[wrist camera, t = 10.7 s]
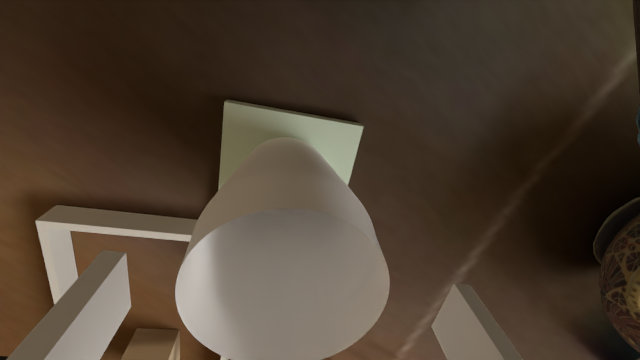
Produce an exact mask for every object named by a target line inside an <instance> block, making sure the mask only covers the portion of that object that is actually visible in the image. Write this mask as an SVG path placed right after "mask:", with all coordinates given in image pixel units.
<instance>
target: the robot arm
mask: <svg viewBox="0 0 640 360" xmlns="http://www.w3.org/2000/svg"><path fill="white" fill-rule="evenodd" d="M633 12H634V26H635V39H636V52H637V66H638V79H639V92H640V0H633ZM636 122H637V126H638V130H639V134H638V139H637V141H638V143H639V145H640V105H639V109H638V114H637V118H636ZM130 308H131V301H130V290H129V279H128V269H127V258H126V252H115V251H105V250H102V252H101V253H100V254H99V255H98V256H97V257H96V258H95V259H94V261H93V262H92V263H91V264H90V265H89V266H88V267H87V269H86V270H85V271H84V272H83V273H82V274H81V275H80V277H79V278H78V279H77V280H76V281H75V282H74V283H73V284H72V286H71V287H70V288H69V289H68V290H67V291H66V292H65V294H64V295H63V296H62V297H61V298H60V299H59V300H58V301H57V303H56V304H55V305H54V306H53V307H52V308H51V309H50V311H49V312H48V313H47V314H46V315H45V316H44V317H43V318H42V320H41V321H40V322H39V323H38V324H37V325H36V326H35V328H34V329H33V330H32V331H31V332H30V333H29V334H28V336H27V337H26V338H25V339H24V340H23V341H22V342H21V343H20V345H19V346H18V347H17V348H16V349H15V350H14V351H13V353H12V354H11V355H10V356H9V357H6V356H0V360H100V358H101V357H102V355H103V353H104V352H105V350H106V348H107V347H108V345H109V343H110V342H111V340H112V338H113V336H114V335H115V333H116V331H117V330H118V328H119V326H120V325H121V323H122V321H123V320H124V318H125V316H126V314H127V313H128V311H129V309H130ZM431 327H432V329H433V331H434V333H435V335H436V337H437V339H438V341H439V343H440V345H441V347H442V350H443V352H444V354H445V356H446V358H447V360H524V359H523V358H522V357H521V355H520V354H519V352H518V351H517V350H516V348H515V347H514V345H513V344H512V343H511V341H510V340H509V339H508V337H507V336H506V334H505V333H504V332H503V330H502V329H501V327H500V326H499V325H498V323H497V322H496V320H495V319H494V318H493V316H492V315H491V314H490V312H489V311H488V309H487V308H486V307H485V305H484V304H483V302H482V301H481V300H480V298H479V297H478V295H477V294H476V293H475V291H474V290H473V289H472V287H471V286H470V285H468V284H457V283H454V284H453V286H452V288H451V290H450V292H449V294H448V296H447V298H446V299H445V301H444V303H443V305H442V307H441V309H440V311H439V313H438V315H437V317H436V318H435V320H434V322H433V324H432V326H431Z"/></svg>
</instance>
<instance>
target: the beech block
mask: <svg viewBox="0 0 640 360" xmlns="http://www.w3.org/2000/svg"><path fill="white" fill-rule="evenodd" d="M121 360H180V330H173V329H142V328H137V329H136V331H135V333H134V335H133V337H132V339H131V341H130V343H129V345H128V347H127V349H126V350H125V352H124V354H123V356H122V358H121Z"/></svg>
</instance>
